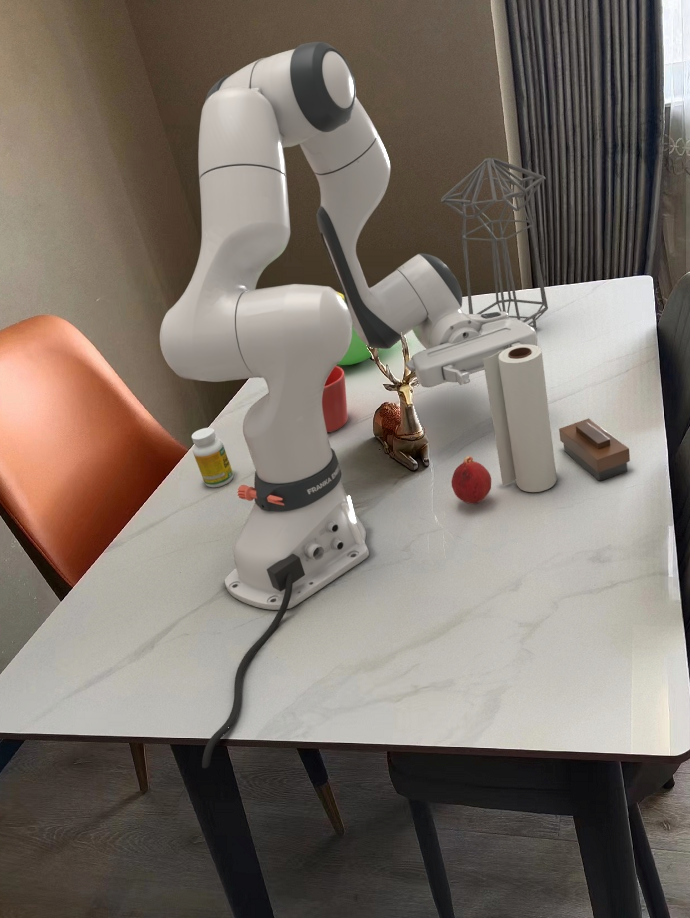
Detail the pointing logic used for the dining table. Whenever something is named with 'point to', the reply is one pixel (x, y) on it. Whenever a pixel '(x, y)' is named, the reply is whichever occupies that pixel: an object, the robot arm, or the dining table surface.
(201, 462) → the supplement bottle
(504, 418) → the paper towel roll
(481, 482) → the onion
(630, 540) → the dining table surface
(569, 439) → the chalkboard eraser
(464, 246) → the geometric lantern
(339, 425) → the flower pot
